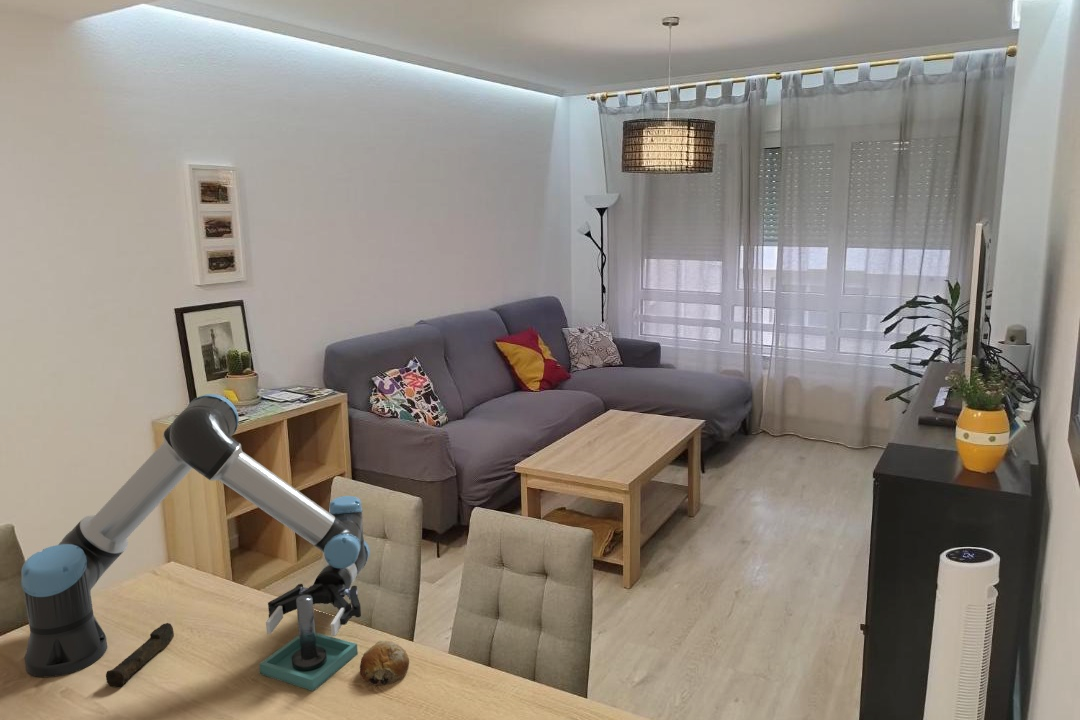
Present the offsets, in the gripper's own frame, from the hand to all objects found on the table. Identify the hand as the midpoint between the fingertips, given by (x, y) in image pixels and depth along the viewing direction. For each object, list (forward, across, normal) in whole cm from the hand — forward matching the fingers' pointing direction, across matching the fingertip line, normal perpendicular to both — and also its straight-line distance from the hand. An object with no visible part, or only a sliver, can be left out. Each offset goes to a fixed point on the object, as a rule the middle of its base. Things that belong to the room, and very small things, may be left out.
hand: (300, 629), depth 158 cm
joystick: (-3, 0, -10) cm, 10 cm away
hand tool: (-2, +36, -10) cm, 38 cm away
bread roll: (-1, -17, -10) cm, 20 cm away
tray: (-3, 0, -10) cm, 11 cm away
